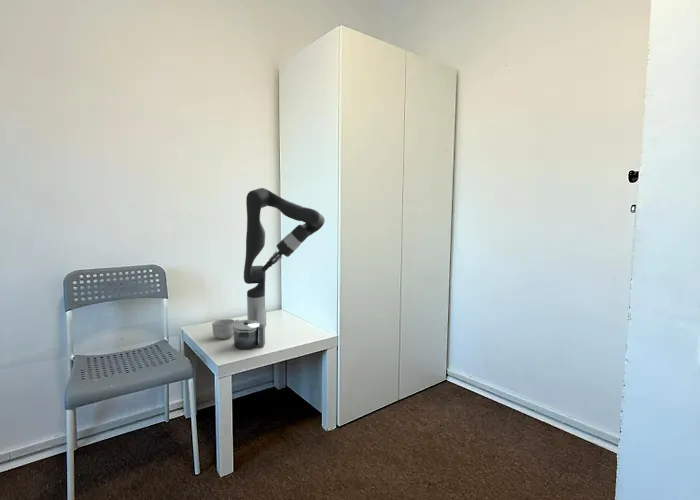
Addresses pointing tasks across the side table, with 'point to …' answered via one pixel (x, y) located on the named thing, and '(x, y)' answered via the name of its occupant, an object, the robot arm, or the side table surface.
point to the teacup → (223, 328)
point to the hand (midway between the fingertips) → (262, 270)
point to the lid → (246, 325)
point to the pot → (249, 338)
